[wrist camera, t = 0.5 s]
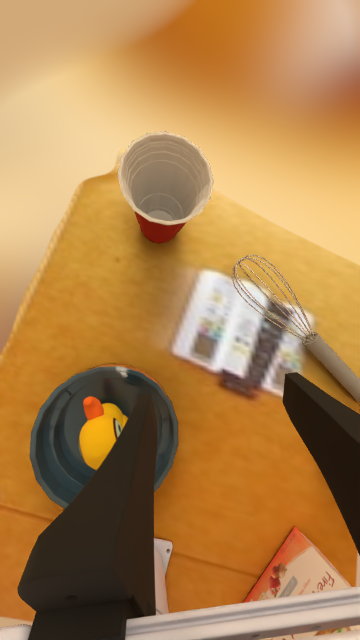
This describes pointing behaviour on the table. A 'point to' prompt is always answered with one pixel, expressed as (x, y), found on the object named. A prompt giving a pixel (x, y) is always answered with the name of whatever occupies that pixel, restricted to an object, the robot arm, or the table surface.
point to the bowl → (69, 417)
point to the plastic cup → (164, 183)
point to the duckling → (99, 430)
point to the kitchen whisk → (311, 339)
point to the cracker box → (298, 577)
